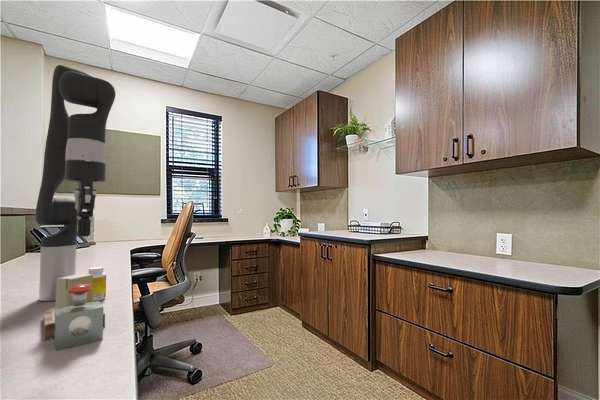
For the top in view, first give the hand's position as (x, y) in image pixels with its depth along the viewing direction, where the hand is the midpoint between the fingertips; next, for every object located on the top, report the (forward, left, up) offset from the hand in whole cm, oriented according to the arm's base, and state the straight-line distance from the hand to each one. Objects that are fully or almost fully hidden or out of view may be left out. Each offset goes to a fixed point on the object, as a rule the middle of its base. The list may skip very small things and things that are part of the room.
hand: (83, 236), depth 66 cm
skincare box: (-9, -1, -23) cm, 25 cm away
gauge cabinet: (+2, -1, -23) cm, 23 cm away
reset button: (+2, -1, -15) cm, 15 cm away
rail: (-12, -1, -23) cm, 26 cm away
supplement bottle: (-32, +6, -23) cm, 40 cm away
